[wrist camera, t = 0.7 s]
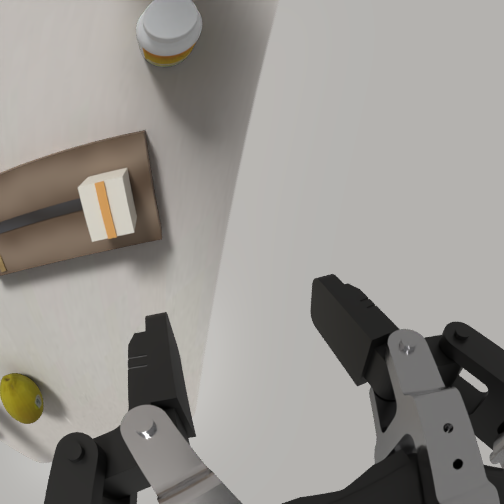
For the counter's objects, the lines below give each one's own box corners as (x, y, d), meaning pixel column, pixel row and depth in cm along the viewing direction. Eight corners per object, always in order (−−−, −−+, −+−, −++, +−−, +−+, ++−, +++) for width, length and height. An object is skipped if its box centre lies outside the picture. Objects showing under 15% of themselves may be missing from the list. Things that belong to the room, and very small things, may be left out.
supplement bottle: (202, 52, 25) (221, 29, 16) (154, 77, 25) (152, 61, 16) (179, 13, 22) (189, -24, 14) (132, 37, 22) (121, 7, 13)
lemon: (50, 401, 39) (45, 437, 32) (15, 393, 36) (7, 427, 29) (39, 363, 35) (30, 403, 28) (0, 354, 32) (-13, 390, 25)
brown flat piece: (-33, 187, 21) (-46, 195, 19) (145, 130, 27) (143, 132, 24) (-7, 267, 27) (-16, 280, 24) (161, 228, 32) (162, 239, 29)
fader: (88, 176, 24) (77, 188, 21) (127, 167, 25) (121, 176, 21) (99, 225, 26) (91, 242, 23) (136, 216, 27) (134, 233, 24)
